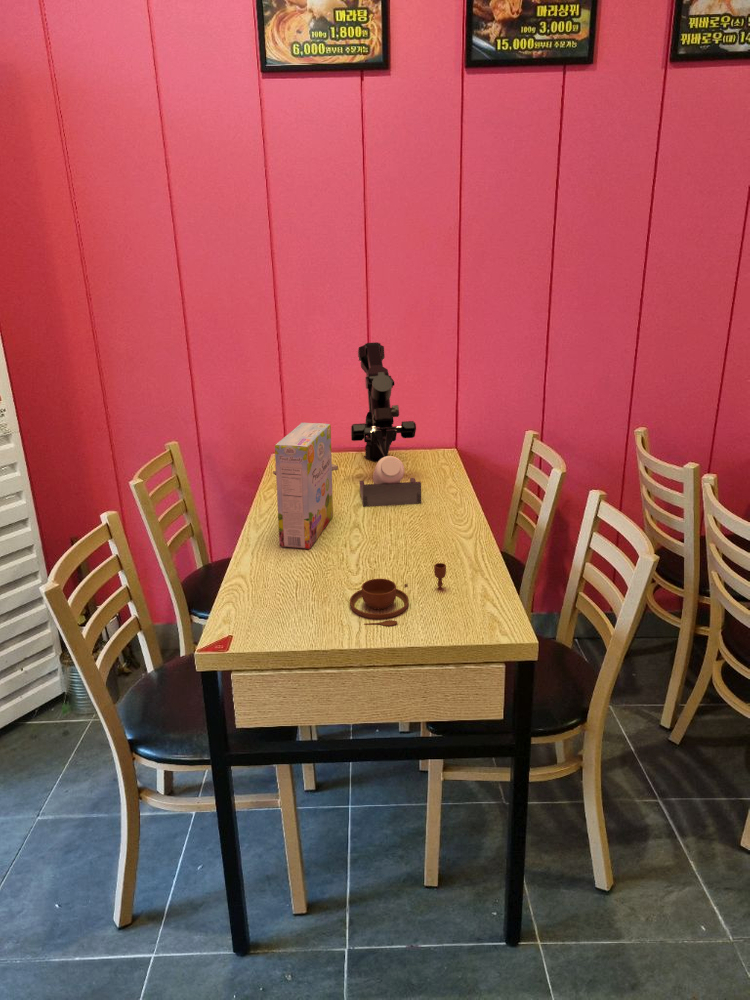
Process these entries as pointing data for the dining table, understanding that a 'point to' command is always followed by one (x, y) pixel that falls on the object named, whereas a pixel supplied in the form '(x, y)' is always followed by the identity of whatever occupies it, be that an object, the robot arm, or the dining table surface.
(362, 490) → the dark wooden frame
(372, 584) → the place setting
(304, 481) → the snack box
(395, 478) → the pill bottle
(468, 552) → the dining table surface
